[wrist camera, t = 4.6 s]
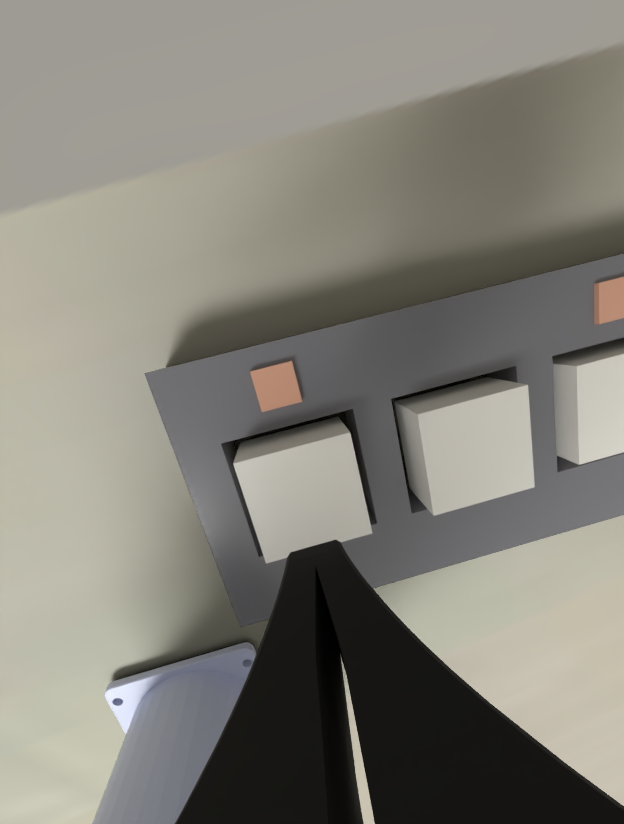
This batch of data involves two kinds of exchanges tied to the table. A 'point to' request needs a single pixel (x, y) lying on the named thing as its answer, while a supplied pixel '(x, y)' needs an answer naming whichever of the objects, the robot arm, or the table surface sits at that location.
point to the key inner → (302, 488)
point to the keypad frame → (376, 430)
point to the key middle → (467, 443)
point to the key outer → (589, 402)
